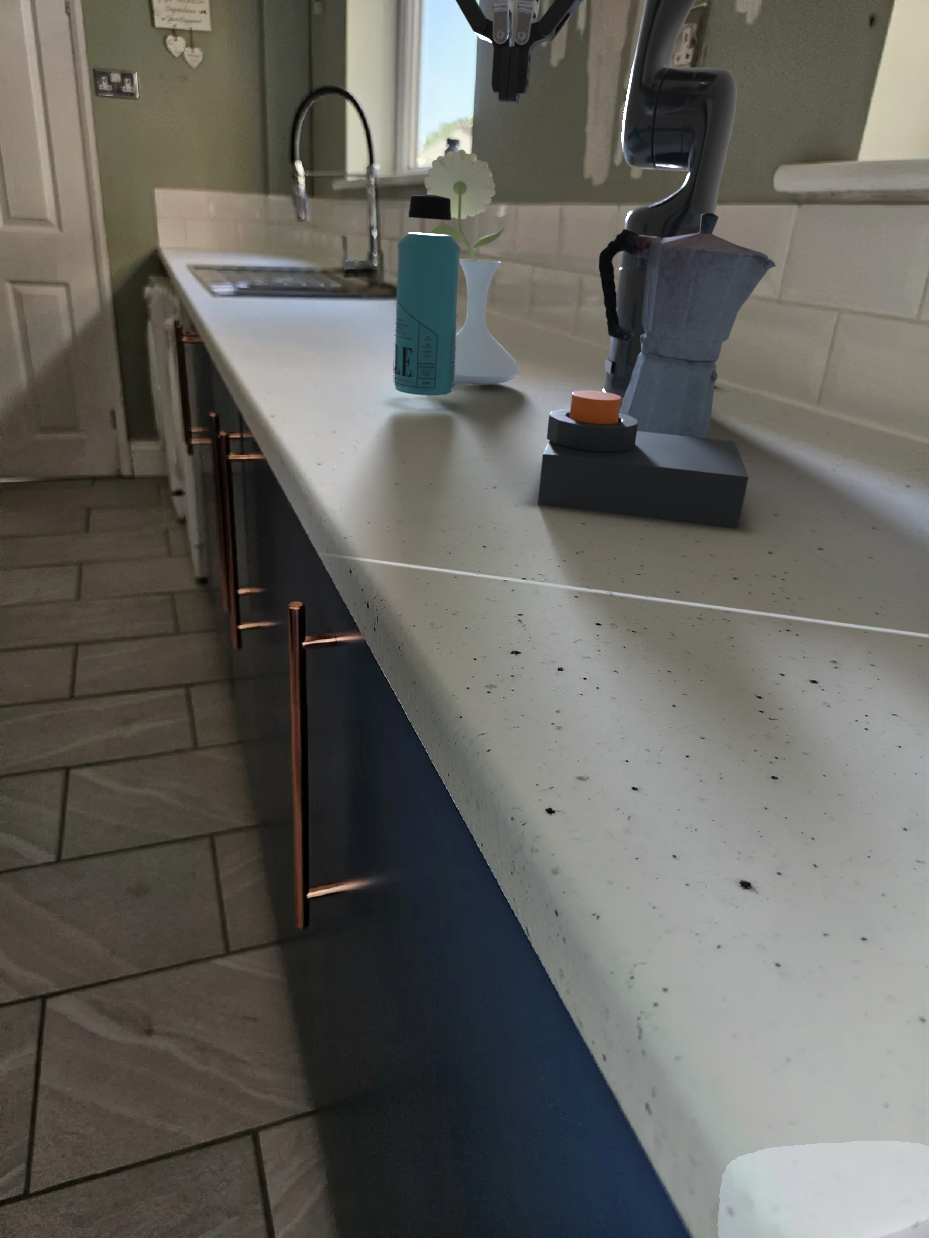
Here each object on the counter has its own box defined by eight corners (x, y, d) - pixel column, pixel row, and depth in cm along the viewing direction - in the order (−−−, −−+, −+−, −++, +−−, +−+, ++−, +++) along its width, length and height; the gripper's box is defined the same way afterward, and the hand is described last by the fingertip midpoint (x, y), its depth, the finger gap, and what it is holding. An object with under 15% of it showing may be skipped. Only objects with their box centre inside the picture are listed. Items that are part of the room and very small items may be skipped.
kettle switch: (566, 425, 63) (570, 397, 62) (571, 415, 66) (574, 388, 66) (616, 430, 63) (620, 402, 62) (618, 420, 66) (622, 393, 65)
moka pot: (742, 459, 79) (792, 217, 70) (573, 440, 81) (601, 204, 73) (734, 437, 87) (777, 218, 79) (581, 420, 90) (607, 206, 81)
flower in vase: (529, 381, 109) (550, 157, 99) (501, 395, 100) (520, 148, 89) (434, 369, 113) (444, 152, 103) (397, 381, 103) (404, 143, 93)
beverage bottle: (464, 405, 93) (478, 198, 85) (429, 413, 88) (440, 194, 80) (415, 395, 96) (423, 195, 88) (378, 403, 91) (383, 191, 83)
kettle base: (533, 504, 62) (541, 427, 60) (550, 466, 72) (557, 399, 70) (737, 529, 60) (754, 450, 58) (726, 486, 70) (739, 418, 68)
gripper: (621, -151, 66) (592, 112, 73) (451, -152, 68) (439, 104, 75) (618, -195, 59) (586, 100, 66) (428, -194, 61) (418, 92, 68)
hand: (508, 102), depth 71 cm, fingers closed
